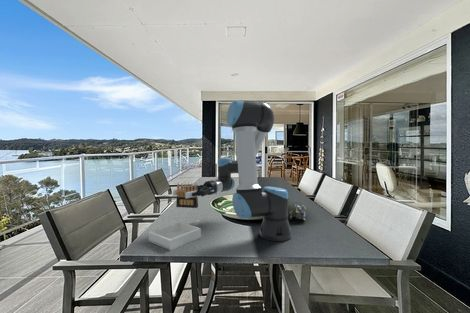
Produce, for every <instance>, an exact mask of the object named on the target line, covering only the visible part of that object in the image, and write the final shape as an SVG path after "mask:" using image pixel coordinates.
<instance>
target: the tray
mask: <svg viewBox="0 0 470 313" xmlns="http://www.w3.org/2000/svg"><path fill="white" fill-rule="evenodd" d="M200 239H202V228H201V227H198V226H194V225H191V224H187V223H185V222H182V221H181V222H180V221H177V222H174V223H172V224H169V225H166V226H163V227H160V228H156V229H154V230H151V231H148V242H149V243H150V244H154V245H156V246H158V247H161V248H163V249H165V250H167V251H170V252H171V251H174V250H176V249H178V248H181V247H183V246H185V245H187V244H190V243H193V242H194V241H197V240H200Z"/></svg>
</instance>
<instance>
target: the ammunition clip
mask: <svg viewBox="0 0 470 313" xmlns="http://www.w3.org/2000/svg"><path fill="white" fill-rule="evenodd" d="M194 185H195V186H194ZM196 185H197V184H196V183H194V184H193V183H191V184H190V183H187V185H186V183H184V185H183V183H182V182H181V183H179V182H178V183H177V185H176V186H177V187H176V189H177V195H176V200H175V201H176V204H175V206H176V207H175V208H187V209H188V208H191V209H198V207H199V201H198V198H199V196H198V195H197V196H195V197H191V198H187V199H186V198H185V193H186V192H190V186H191V191H193V186H194V191H197V186H196ZM183 187H184V192H183ZM186 187H187V190H186Z"/></svg>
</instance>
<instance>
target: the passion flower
mask: <svg viewBox="0 0 470 313" xmlns="http://www.w3.org/2000/svg"><path fill="white" fill-rule="evenodd" d="M292 205H293V207H294V208H293V209H292V210H290V211H289V210H288V216H289V215H290V217H289V220H291V219H292V218H293V217H297V215H298V214H300V217H301V219H302V221H306V216H307V214H306V211H308V209H307V207H306V206H305V205H304V204H302V207H301V206H300V205H299V204H295V202H293V204H292ZM304 210H305V211H304Z"/></svg>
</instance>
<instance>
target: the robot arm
mask: <svg viewBox="0 0 470 313" xmlns="http://www.w3.org/2000/svg"><path fill="white" fill-rule="evenodd" d="M226 122H227V125H228V126H230V127H231V129H232V132H233V133H235V134H234V135H235V142H236V155H237V156H236V157H237V160H232V158H231V157H229V156H228V157H227V156H226V157H219V158H218V159H217V179H212V180H208V181H207V180H206V181H205V182H204V183H203V184H200V185H198V184H196V186H197V191H194V186H195V184H193V191H191V185H189V186H190V192H186V193H185V198H186V199H187V198H191V197H195V196H197V197H204V196H210V195H214V194H215V195H217V194H218V193H219V194H220V193H223V192H228V191H230V190H233V189H234V188H235V185H236V183H235V180H234V178H233V177H232V174H238V186H237V187H236V188H235V189H236V191H235V193H233V195H232V198H231V202H232V203H231V204H232V207H233V210H234V213H235V214H236V216H237V217H238V218H239V219H241V220H243V219H244V220H245V219H249V220H250V219H254V218H259V217H263V220H262V222H261V225H260V228H259V236H260V238H262V239H264V240H266V241H271V242H285V241H288V240H290V239H292V237H293V236H292V229H291V226H290V223H289V215H288V213H289V212H288V211H289V192H288V190H287V189H285V188H283V187H278V186H264V187H263V188H262V186H261V185H259V181H258V169H257V168H258V167H257V166H258V165H257V155H258V153H259V151H260V149H261V147H262V145H263V143H264V141H265V138H266V137H267V134H268V133H270V132H271V130H272V128H273V126H274V123H275V114H274V111H273V109H272V108H271V106H270V105H269V104H268V103H266V102H263V101H255V100H254V101H253V100H243V99H241V100H233V101H232V102H231V103H230V104H229V106H228V109H227V112H226ZM186 190H187V186H186ZM183 192H184V186H183ZM172 196H177V188H176V189H173V190H172Z"/></svg>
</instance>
